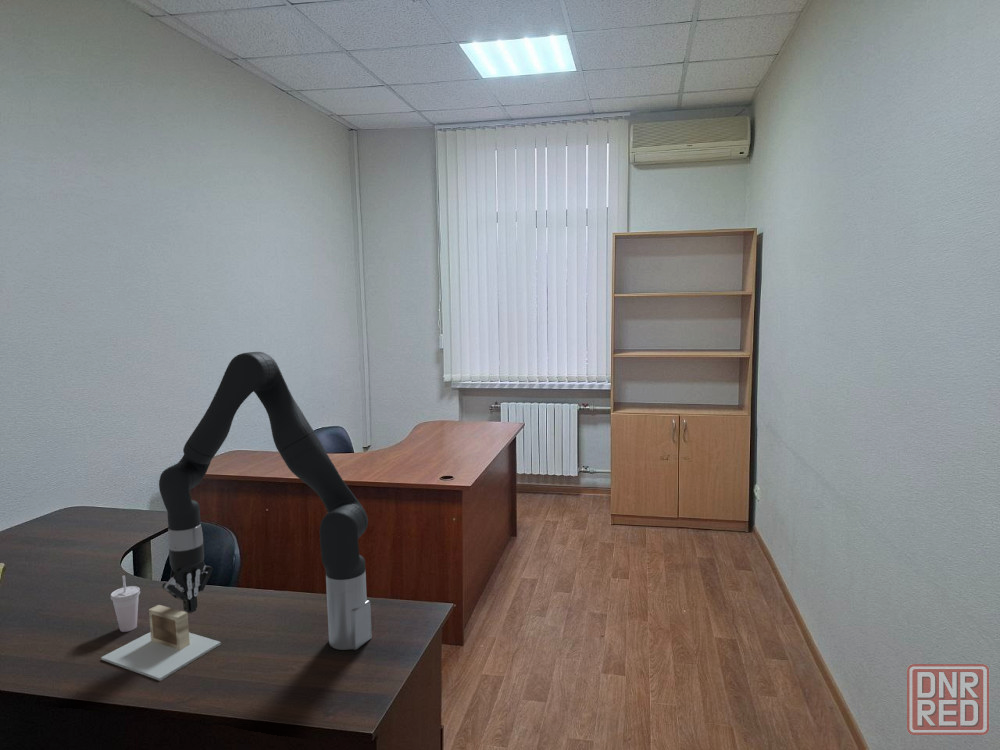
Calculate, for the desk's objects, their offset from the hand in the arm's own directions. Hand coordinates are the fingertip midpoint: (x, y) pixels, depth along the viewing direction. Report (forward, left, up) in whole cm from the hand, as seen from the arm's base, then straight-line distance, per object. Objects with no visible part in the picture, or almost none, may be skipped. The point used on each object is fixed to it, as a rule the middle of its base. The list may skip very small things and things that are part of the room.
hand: (190, 611), depth 154 cm
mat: (0, +8, -6) cm, 10 cm away
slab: (+1, +5, -6) cm, 8 cm away
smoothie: (+18, +4, -6) cm, 19 cm away
